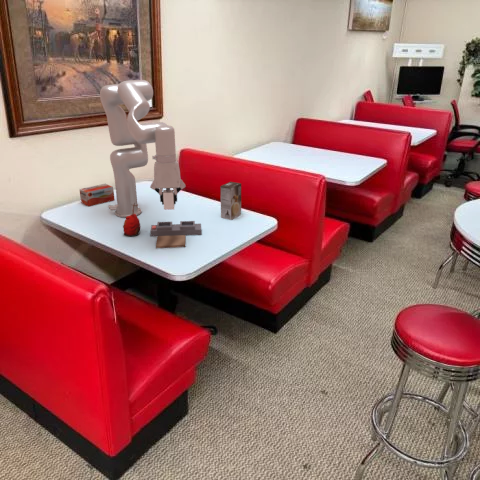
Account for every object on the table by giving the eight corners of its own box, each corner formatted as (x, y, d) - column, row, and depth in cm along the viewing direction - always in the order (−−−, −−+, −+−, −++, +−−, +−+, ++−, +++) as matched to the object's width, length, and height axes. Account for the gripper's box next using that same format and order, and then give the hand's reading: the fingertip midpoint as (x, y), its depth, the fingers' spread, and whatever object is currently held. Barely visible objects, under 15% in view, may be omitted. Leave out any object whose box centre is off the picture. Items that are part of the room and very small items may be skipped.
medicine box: (107, 197, 235) (105, 182, 232) (115, 200, 230) (113, 186, 226) (81, 203, 225) (78, 188, 222) (88, 207, 220) (86, 192, 217)
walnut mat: (155, 248, 177) (155, 245, 176) (157, 238, 186) (157, 236, 185) (185, 247, 178) (185, 244, 178) (185, 237, 187) (185, 235, 187)
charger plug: (164, 209, 173) (162, 190, 170) (164, 206, 177) (163, 187, 173) (174, 209, 174) (173, 189, 170) (174, 206, 177) (173, 186, 174)
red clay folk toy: (133, 229, 194) (129, 197, 188) (144, 232, 191) (142, 200, 185) (120, 235, 188) (117, 202, 182) (132, 238, 185) (129, 205, 179)
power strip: (150, 236, 187) (150, 228, 186) (151, 230, 194) (151, 221, 192) (201, 234, 190) (201, 226, 188) (201, 228, 196) (200, 220, 194)
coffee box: (230, 212, 216) (230, 181, 209) (241, 214, 213) (242, 183, 206) (220, 217, 209) (220, 185, 202) (231, 220, 205) (231, 188, 199)
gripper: (143, 161, 163) (147, 207, 170) (187, 160, 164) (189, 205, 172) (145, 156, 170) (148, 201, 177) (187, 155, 171) (189, 199, 179)
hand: (169, 202), depth 174 cm, fingers closed on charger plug, 4 cm apart
